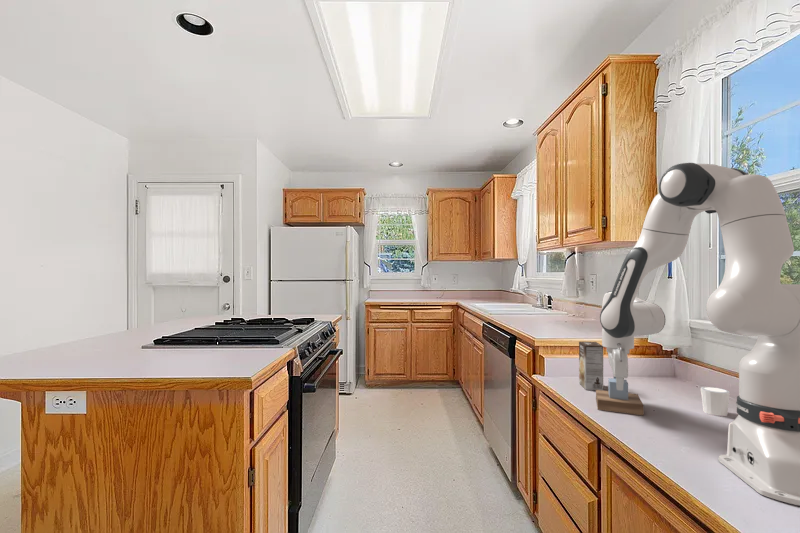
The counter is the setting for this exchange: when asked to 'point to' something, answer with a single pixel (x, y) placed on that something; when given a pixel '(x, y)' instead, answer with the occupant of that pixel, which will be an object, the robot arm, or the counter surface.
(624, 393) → the slate block
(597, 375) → the coffee box
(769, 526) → the counter surface
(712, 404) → the white cup
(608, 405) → the walnut plinth
